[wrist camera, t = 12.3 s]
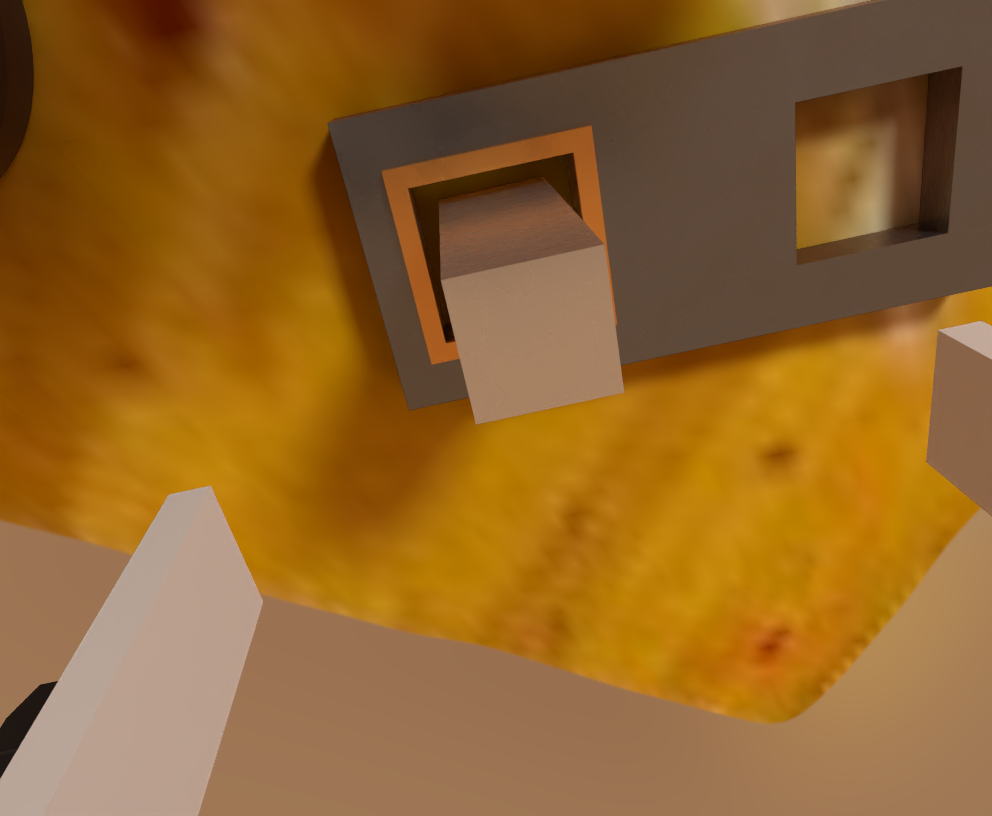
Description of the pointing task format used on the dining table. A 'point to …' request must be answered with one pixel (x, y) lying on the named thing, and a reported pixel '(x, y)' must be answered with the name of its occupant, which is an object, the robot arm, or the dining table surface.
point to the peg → (527, 300)
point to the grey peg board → (693, 180)
